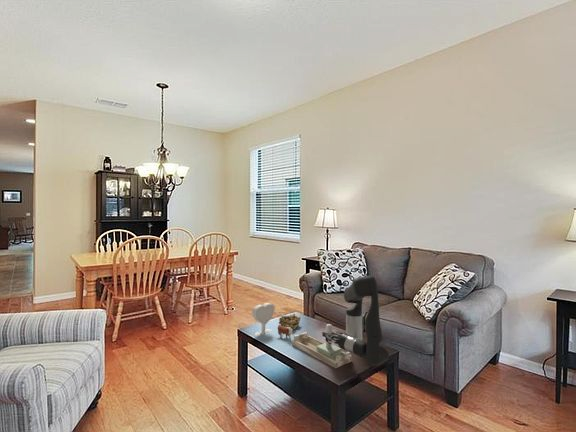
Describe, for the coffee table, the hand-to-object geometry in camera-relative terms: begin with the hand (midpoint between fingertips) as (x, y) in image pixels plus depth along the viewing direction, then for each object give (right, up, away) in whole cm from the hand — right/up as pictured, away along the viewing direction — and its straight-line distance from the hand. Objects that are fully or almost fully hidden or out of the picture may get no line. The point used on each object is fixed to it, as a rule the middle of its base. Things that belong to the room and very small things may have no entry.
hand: (325, 333), depth 172 cm
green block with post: (+2, -12, -2) cm, 12 cm away
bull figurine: (-21, -12, +24) cm, 34 cm away
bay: (-2, -13, +3) cm, 13 cm away
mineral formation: (-18, -12, +44) cm, 49 cm away
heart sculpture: (-36, -12, +34) cm, 51 cm away
